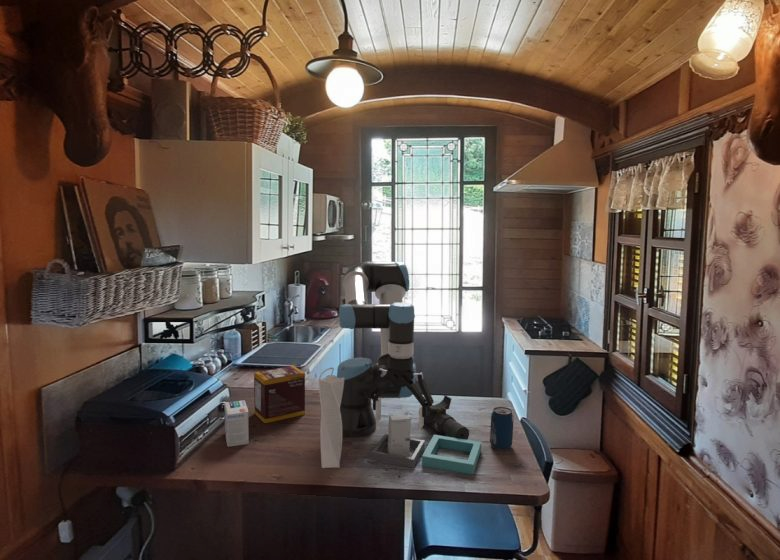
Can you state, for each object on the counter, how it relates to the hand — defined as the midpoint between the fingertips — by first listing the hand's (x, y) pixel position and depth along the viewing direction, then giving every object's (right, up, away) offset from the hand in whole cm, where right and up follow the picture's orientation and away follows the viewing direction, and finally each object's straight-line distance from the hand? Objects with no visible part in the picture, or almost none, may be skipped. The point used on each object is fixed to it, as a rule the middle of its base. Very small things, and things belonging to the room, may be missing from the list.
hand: (399, 423), depth 157 cm
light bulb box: (-52, -8, +10) cm, 54 cm away
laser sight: (+15, -8, +19) cm, 25 cm away
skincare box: (0, -10, +2) cm, 10 cm away
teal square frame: (+16, -10, 0) cm, 19 cm away
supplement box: (-42, -5, +30) cm, 52 cm away
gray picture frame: (0, -10, +2) cm, 10 cm away
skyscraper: (-20, -10, -4) cm, 23 cm away
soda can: (+32, -10, +8) cm, 35 cm away
